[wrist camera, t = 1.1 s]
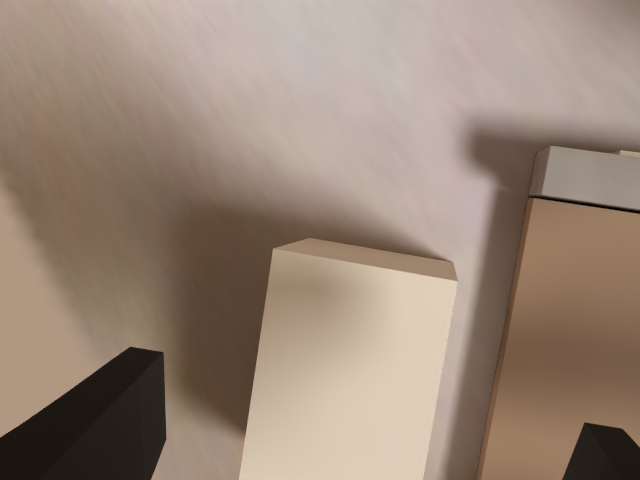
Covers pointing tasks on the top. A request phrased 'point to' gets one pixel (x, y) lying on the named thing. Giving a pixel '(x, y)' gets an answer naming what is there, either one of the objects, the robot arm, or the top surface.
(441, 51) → the top surface
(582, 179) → the price rail
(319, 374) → the carton
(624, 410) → the shelf board
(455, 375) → the top surface
